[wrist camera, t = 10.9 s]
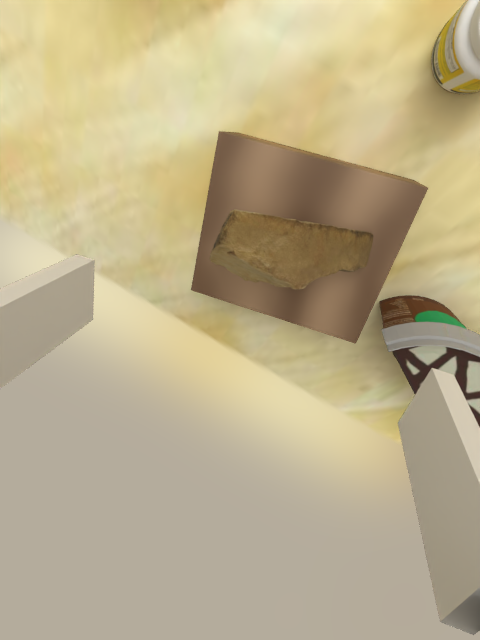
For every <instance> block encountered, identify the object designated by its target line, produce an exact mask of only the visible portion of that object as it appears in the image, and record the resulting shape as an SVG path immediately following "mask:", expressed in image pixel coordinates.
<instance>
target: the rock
mask: <svg viewBox="0 0 480 640" xmlns="http://www.w3.org/2000/svg"><path fill="white" fill-rule="evenodd" d="M372 243H373V234H372V233H371V232H366V231H358V230H351V229H347V228H341V227H335V226H332V225H324V224H318V223H312V222H306V221H298V220H296V219H288V218H282V217H278V216H272V215H265V214H260V213H255V212H248V211H242V210H237V209H234V210H232V211H231V212H230V213H229V215H228V217H227V218H226V220H225V222H224V224H223V225H222V227H221V230H220V232H219V234H218V236H217V239H216V241H215V243H214V246H213V249H212V251H211V253H210V258H209V259H210V260H211V262H213V263H214V264H216V265H221V266H224V267H226V268H227V270H228V271H230V272H231V273H233V274H236V275H238V276H240V277H241V278H243V279H244V280H245V281H252V282H255V283H256V282H260V281H262V282H266V283H270V284H272V285H274V286H276V287H291V288H292V289H298V290H300V289H304V288H305V287H307V285H308V284H309V283H310V282H312V281H314V280H315V279H317V278H319V277H325V276H328V275H331V274H334V273H337V272H338V271H344V272H354V271H356V270H358V269H359V268H365V267H366V266H367V262H368V259H369V254H370V251H371V248H372Z"/></svg>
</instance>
